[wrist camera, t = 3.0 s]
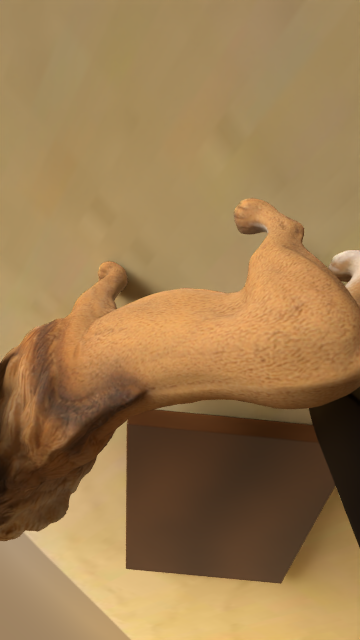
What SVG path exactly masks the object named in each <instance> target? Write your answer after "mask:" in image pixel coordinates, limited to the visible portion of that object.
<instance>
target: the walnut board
mask: <svg viewBox="0 0 360 640" xmlns="http://www.w3.org/2000/svg"><path fill="white" fill-rule="evenodd" d="M335 486H336V485H335V483H334V480H333V478H332V475H331V473H330V470H329V467H328V465H327V462H326V460H325V457H324V455H323V452H322V449H321V447H320V444H319V442H318V439H317V436H316V433H315V430H314V426H313V425H307V424H297V423H287V422H276V421H266V420H256V419H246V418H235V417H225V416H215V415H205V414H194V413H184V412H174V411H164V410H148V411H145V412H142V413H139V414H136V415H134V416H131V417H130V418H129V419H128V421H127V480H126V569H133V570H144V571H155V572H165V573H176V574H186V575H197V576H207V577H218V578H229V579H239V580H250V581H260V582H271V583H282V581H283V579H284V577H285V575H286V574H287V572H288V570H289V568H290V566H291V565H292V563H293V561H294V559H295V557H296V556H297V554H298V552H299V550H300V548H301V547H302V545H303V543H304V541H305V539H306V538H307V536H308V534H309V532H310V530H311V529H312V527H313V525H314V523H315V521H316V520H317V518H318V516H319V514H320V512H321V511H322V509H323V507H324V505H325V504H326V502H327V500H328V498H329V496H330V495H331V493H332V491H333V489H334V487H335Z"/></svg>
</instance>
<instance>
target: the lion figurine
mask: <svg viewBox="0 0 360 640" xmlns="http://www.w3.org/2000/svg"><path fill="white" fill-rule="evenodd" d="M234 218H235V223H236V225H237V228H238V230H239V231H240V232H241V233H243V234H255V233H260V232H267V233H268V235H267V237H266V238H265V240H264V241H263V243H262V244H261V246H260V247H259V248H258V249H257V250H256V251H255V253H254V254H253V255H252V257H251V259H250V262H249V270H248V277H247V281H246V284H245V286H244V288H243V289H242V290H241V291H239V292H233V293H223V292H219V291H211V290H205V289H191V288H182V289H175V290H169V291H163V292H159V293H155V294H152V295H148V296H146V297H143V298H141V299H138V300H136V301H134V302H132V303H129V304H127V305H125V306H123V307H120V308H118V309H117V308H116V304H115V302H114V300H115V298H116V297H117V296H118V294H119V293H120V292H122V290H123V289H124V288H125V287H126V285H127V282H128V278H127V274H126V271H125V269H124V268H123V267H122V266H120V265H118V264H116V263H114V262H109V261H108V262H104V263H102V264H101V266H100V269H99V271H98V275H99V281H98V282H97V283H96V284H95V285H94V286H93V287H91V288H90V289H88V290H87V291H85V292H84V293H83V294H82V295H81V296H80V297H79V298H78V299H77V301H76V303H75V305H74V307H73V310H72V312H71V314H69V315H68V316H67V317H66V318H64V319H56V320H54V321H52V322H50V323H48V324H44V325H42V326H37V327H35V328H33V329H32V330H31V331H29V332H28V333H27V334H26V336H25V337H24V339H23V341H22V342H21V344H20V345H19V346H17V347H15V348H13V349H12V350H10V351H9V352H8V353H7V354H6V356H5V357H4V358H3V360H2V361H1V363H0V541H7V540H11V539H15V538H17V537H19V536H20V535H21V534H22V533H23V532H24V531H25V530H27V531H40V530H42V529H44V528H45V527H47V526H48V525H49V524H51V523H54V522H57V521H58V520H60V519H61V518H63V517H64V515H65V514H66V511H67V510H68V507H69V498H70V495H71V494H72V493H74V492H75V491H76V490H77V487H78V485H79V483H80V481H81V479H82V478H83V477H84V476H85V475H86V474H87V473H88V472H90V470H91V469H92V467H93V465H94V463H95V461H96V458H97V455H98V454H99V453H100V452H101V451H102V450H103V448H104V447H105V446H106V445H107V443H108V442H109V440H110V439H111V438H112V436H113V434H114V432H115V430H116V429H117V428H118V427H119V426H121V425H122V424H123V423H124V422H125V421H126V420H127V419H129V418H130V417H131V416H134V415H136V414H139V413H142V412H145V411H148V410H153V409H157V408H161V407H165V406H171V405H176V404H186V403H193V402H197V401H201V400H216V399H226V400H238V401H243V402H248V403H254V404H258V405H263V406H268V407H272V408H279V409H301V408H312V407H318V406H322V405H324V404H327V403H329V402H332V401H334V400H337V399H339V398H342V397H344V396H346V395H348V394H350V393H352V392H353V391H354V390H356V389H357V388H359V387H360V250H349V251H345V252H342V253H339V254H337V255H336V256H334V257H333V259H332V261H331V263H330V265H329V268H327V267H326V266H325V265H324V264H323V263H322V262H321V261H320V260H318V259H317V258H316V257H315V256H314V255H312V254H311V253H310V252H309V251H308V250H307V249H305V247H304V246H303V244H302V239H303V236H304V228H303V226H302V225H301V224H300V223H299V222H297V221H295V220H293V219H290V218H288V217H286V216H285V215H283V214H281V213H280V212H278V211H277V210H276V209H275V208H274V207H273V206H272V205H270V204H269V203H267V202H265V201H263V200H259V199H254V198H252V199H245V200H242V201H241V202H240V203H239V204H238V206H237V207H236V209H235V211H234ZM341 281H344V282H348V284H347V285H346V286H344V284H343V283H342V282H341Z"/></svg>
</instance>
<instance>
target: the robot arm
mask: <svg viewBox="0 0 360 640" xmlns="http://www.w3.org/2000/svg"><path fill="white" fill-rule="evenodd" d="M309 411H310V415H311V419H312V423H313V426H314V430H315V433H316V436H317V439H318V442H319V444H320V447H321V449H322V452H323V455H324V457H325V460H326V462H327V465H328V467H329V470H330V473H331V475H332V478H333V480H334V483H335V485H336V488H337V491H338V493H339V496H340V498H341V501H342V503H343V506H344V509H345V511H346V514H347V516H348V519H349V521H350V524H351V527H352V529H353V532H354V534H355V537H356V539H357V542H358V545H359V547H360V387H359V388H357V389H356V390H354V391H353V392H352V393H350V394H348V395H346V396H344V397H342V398H339V399H337V400H334V401H332V402H329V403H327V404H324V405H322V406H318V407H312V408H309Z"/></svg>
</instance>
